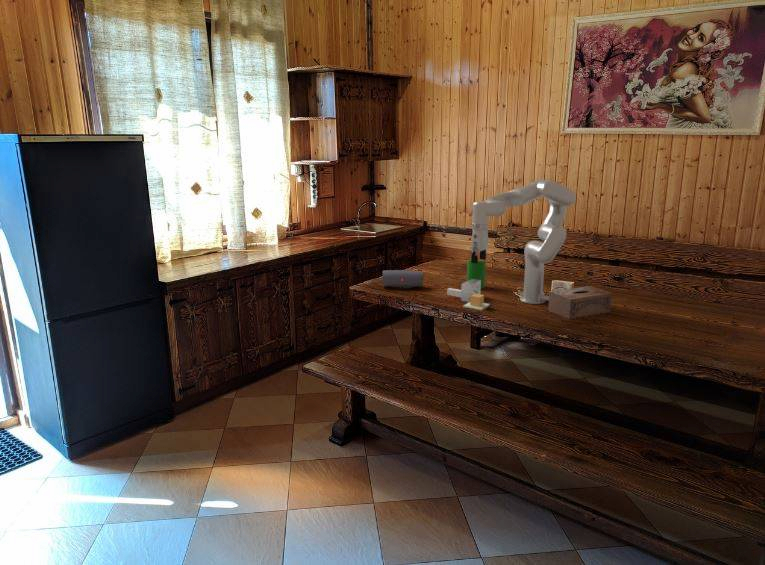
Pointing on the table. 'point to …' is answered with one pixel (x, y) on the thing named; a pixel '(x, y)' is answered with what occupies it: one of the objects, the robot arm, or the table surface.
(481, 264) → the motor
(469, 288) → the housing
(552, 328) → the table surface
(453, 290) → the push rod
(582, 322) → the table surface
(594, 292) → the tissue box cover
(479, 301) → the plug block
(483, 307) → the mat
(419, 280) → the bluetooth speaker
